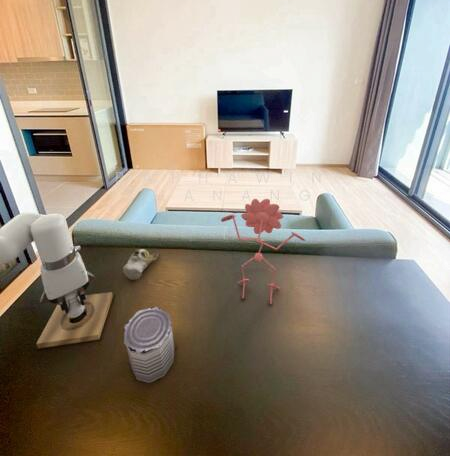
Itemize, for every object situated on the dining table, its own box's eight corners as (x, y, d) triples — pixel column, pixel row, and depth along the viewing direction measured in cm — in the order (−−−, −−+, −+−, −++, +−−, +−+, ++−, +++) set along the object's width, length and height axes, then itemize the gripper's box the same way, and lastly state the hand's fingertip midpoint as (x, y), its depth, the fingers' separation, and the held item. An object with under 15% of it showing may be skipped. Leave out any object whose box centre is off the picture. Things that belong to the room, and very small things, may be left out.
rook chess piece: (75, 304, 76) (69, 284, 73) (88, 305, 75) (82, 286, 73) (64, 317, 72) (57, 298, 69) (78, 319, 71) (71, 299, 68)
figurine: (298, 312, 76) (310, 217, 64) (218, 296, 82) (215, 206, 69) (296, 273, 90) (306, 189, 78) (228, 262, 96) (227, 182, 83)
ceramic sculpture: (112, 262, 85) (136, 236, 99) (115, 282, 87) (138, 254, 101) (139, 267, 83) (160, 240, 97) (141, 287, 85) (161, 258, 99)
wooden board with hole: (38, 348, 67) (36, 343, 67) (62, 302, 80) (60, 298, 80) (99, 339, 69) (97, 334, 69) (113, 296, 82) (112, 291, 82)
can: (129, 346, 68) (122, 315, 63) (170, 328, 72) (166, 298, 68) (132, 393, 58) (125, 360, 54) (179, 369, 62) (175, 338, 58)
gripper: (89, 237, 74) (101, 283, 80) (20, 263, 64) (40, 313, 71) (95, 251, 68) (107, 299, 75) (20, 282, 59) (41, 334, 65)
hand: (74, 305), depth 73 cm, fingers closed on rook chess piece, 3 cm apart
